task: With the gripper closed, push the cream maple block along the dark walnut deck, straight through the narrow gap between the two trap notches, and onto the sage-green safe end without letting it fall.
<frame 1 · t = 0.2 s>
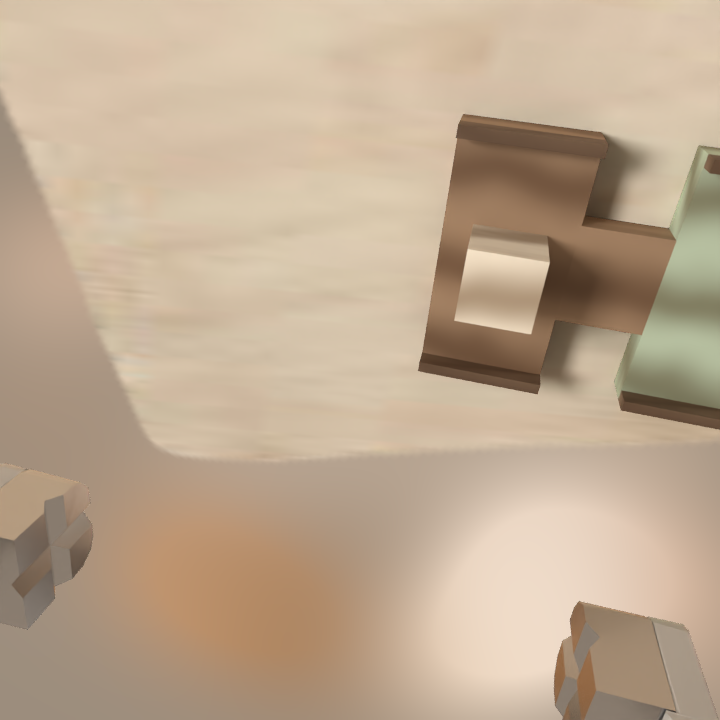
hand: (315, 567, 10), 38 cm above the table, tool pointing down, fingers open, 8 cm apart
maple block: (502, 264, 44), point 2 cm above the table, touching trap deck
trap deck: (594, 266, 45), on the table
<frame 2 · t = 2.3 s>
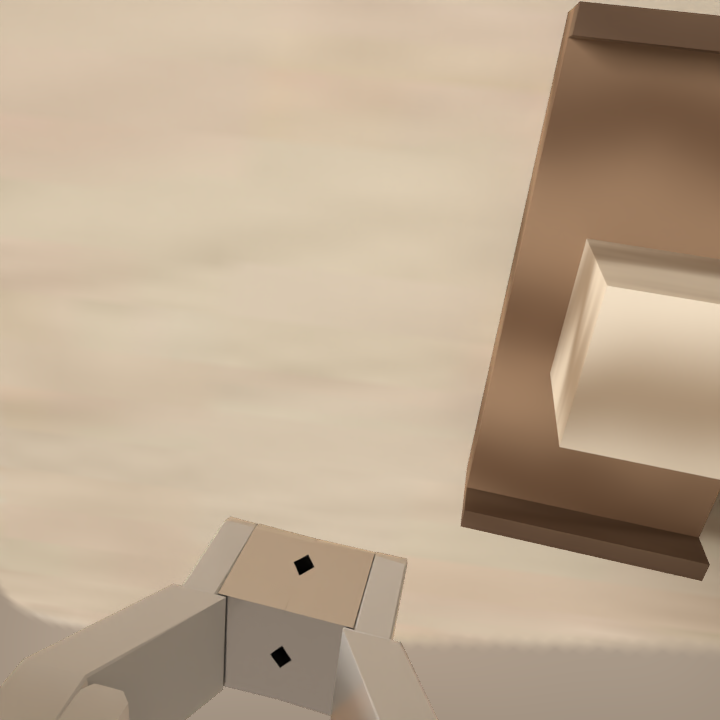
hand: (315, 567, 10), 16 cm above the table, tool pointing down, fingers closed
maple block: (642, 322, 21), point 2 cm above the table, touching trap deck
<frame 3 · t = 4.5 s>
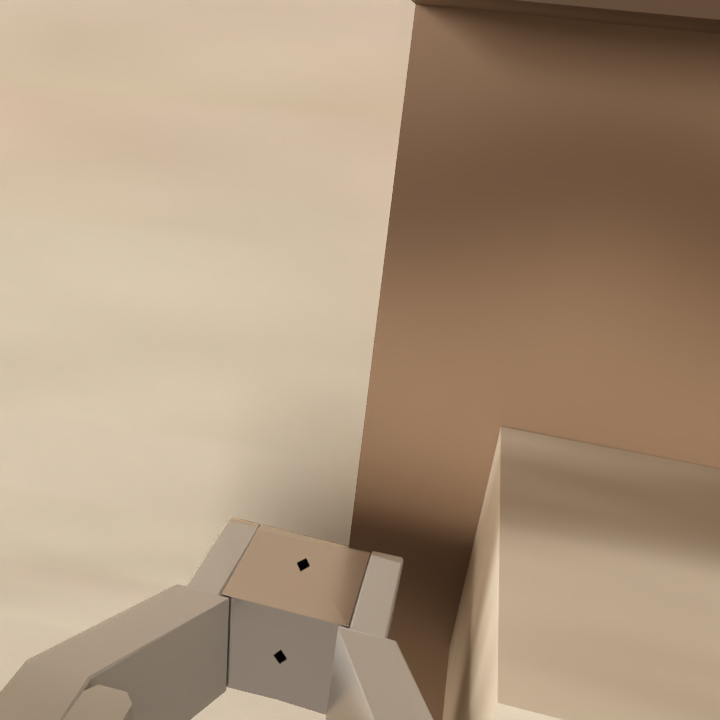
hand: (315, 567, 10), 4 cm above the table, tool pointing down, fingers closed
maple block: (618, 579, 11), point 3 cm above the table, touching gripper
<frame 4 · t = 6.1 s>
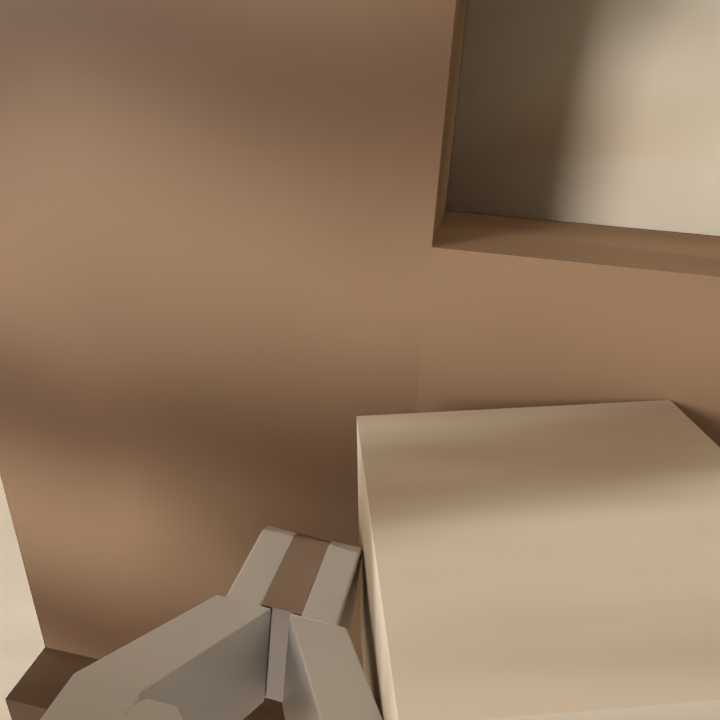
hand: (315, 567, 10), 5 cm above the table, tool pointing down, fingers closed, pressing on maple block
maple block: (502, 532, 11), point 3 cm above the table, tilted 16°, touching gripper
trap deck: (523, 386, 13), on the table
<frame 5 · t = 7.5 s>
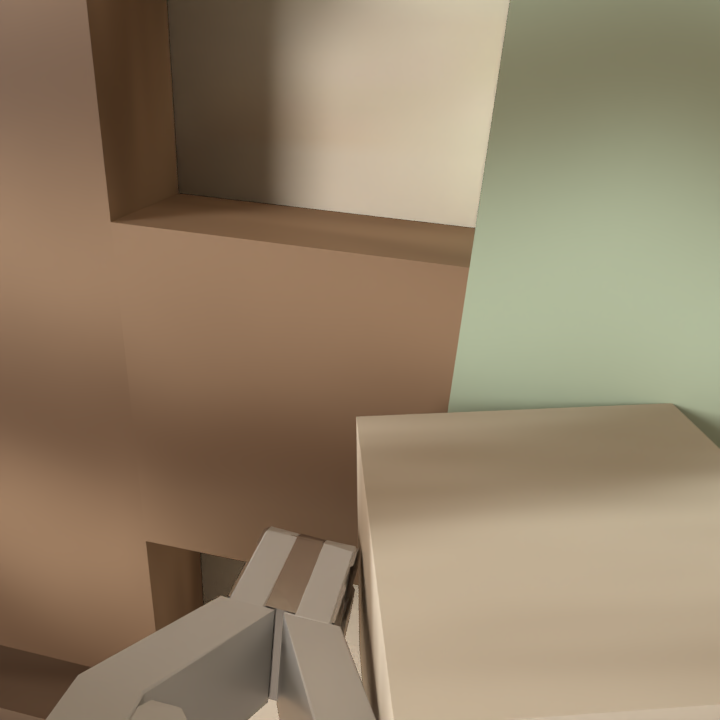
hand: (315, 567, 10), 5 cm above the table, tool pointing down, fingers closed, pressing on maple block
maple block: (502, 535, 11), point 3 cm above the table, tilted 16°, touching gripper, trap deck
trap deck: (271, 361, 14), on the table
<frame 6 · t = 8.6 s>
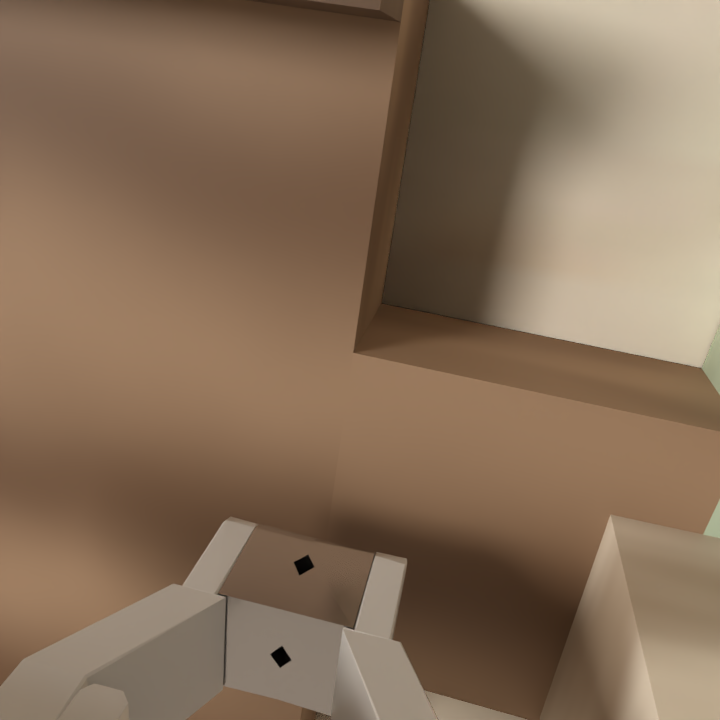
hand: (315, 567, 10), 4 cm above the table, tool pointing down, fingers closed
maple block: (718, 661, 11), point 2 cm above the table, touching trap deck
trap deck: (447, 474, 14), on the table
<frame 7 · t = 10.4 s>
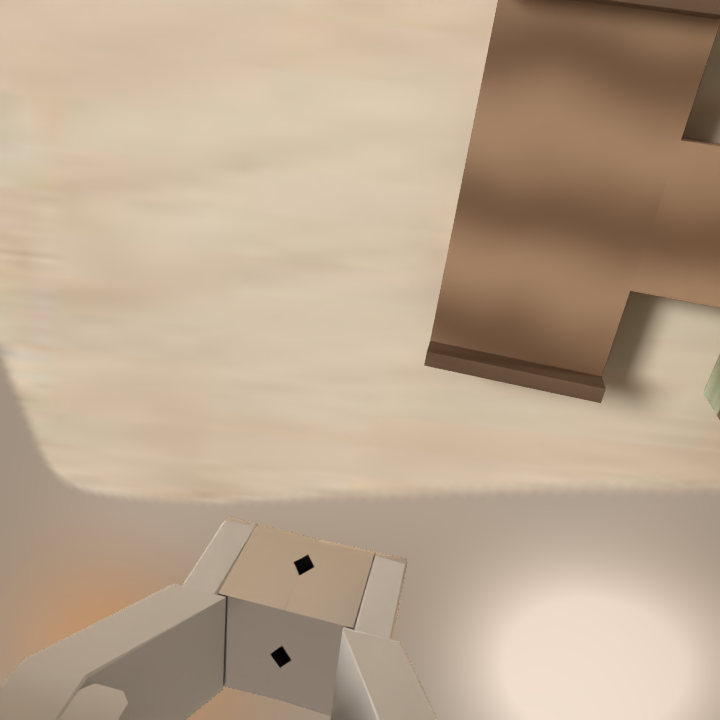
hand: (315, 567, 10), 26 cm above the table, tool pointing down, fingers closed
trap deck: (685, 216, 31), on the table
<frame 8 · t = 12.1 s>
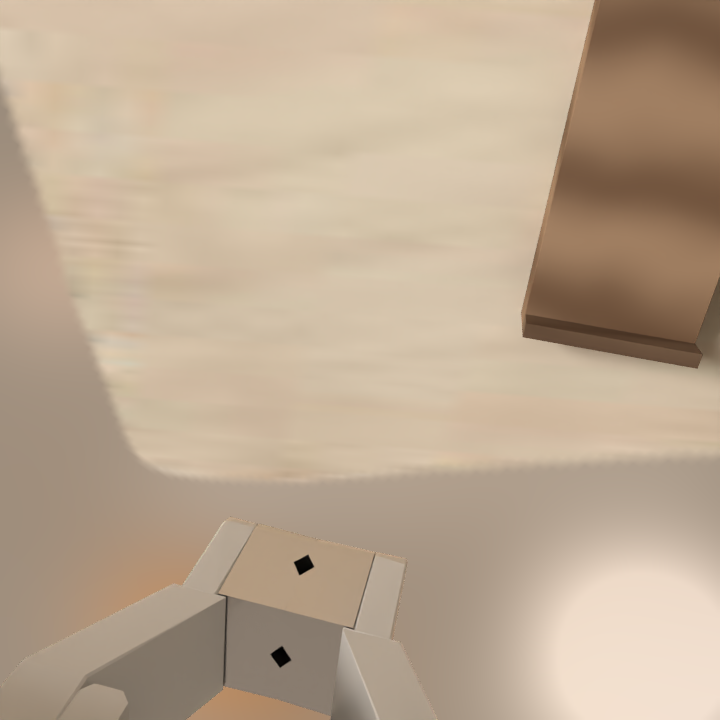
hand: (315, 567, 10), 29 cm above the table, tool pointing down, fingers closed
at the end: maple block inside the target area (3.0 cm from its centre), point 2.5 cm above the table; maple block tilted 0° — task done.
